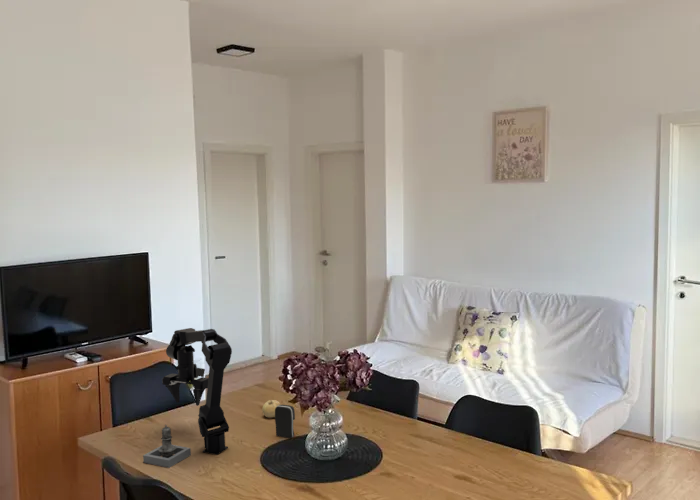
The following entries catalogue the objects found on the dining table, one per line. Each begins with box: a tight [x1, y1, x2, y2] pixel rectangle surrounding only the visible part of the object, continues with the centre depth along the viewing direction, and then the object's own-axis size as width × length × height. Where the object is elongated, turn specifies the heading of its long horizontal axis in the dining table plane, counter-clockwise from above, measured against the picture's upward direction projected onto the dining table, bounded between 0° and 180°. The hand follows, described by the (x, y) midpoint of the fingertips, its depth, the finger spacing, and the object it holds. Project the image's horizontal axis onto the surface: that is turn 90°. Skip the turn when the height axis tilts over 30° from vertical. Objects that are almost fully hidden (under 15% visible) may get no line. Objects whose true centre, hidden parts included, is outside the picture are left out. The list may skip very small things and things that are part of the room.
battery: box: [274, 404, 296, 439], centre depth 239 cm, size 7×4×11 cm, turn 67°
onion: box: [261, 399, 282, 418], centre depth 260 cm, size 8×8×7 cm
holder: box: [142, 444, 192, 469], centre depth 221 cm, size 11×11×2 cm
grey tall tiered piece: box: [158, 424, 176, 458], centre depth 221 cm, size 6×6×12 cm
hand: (187, 403), depth 241 cm, fingers open, 9 cm apart
